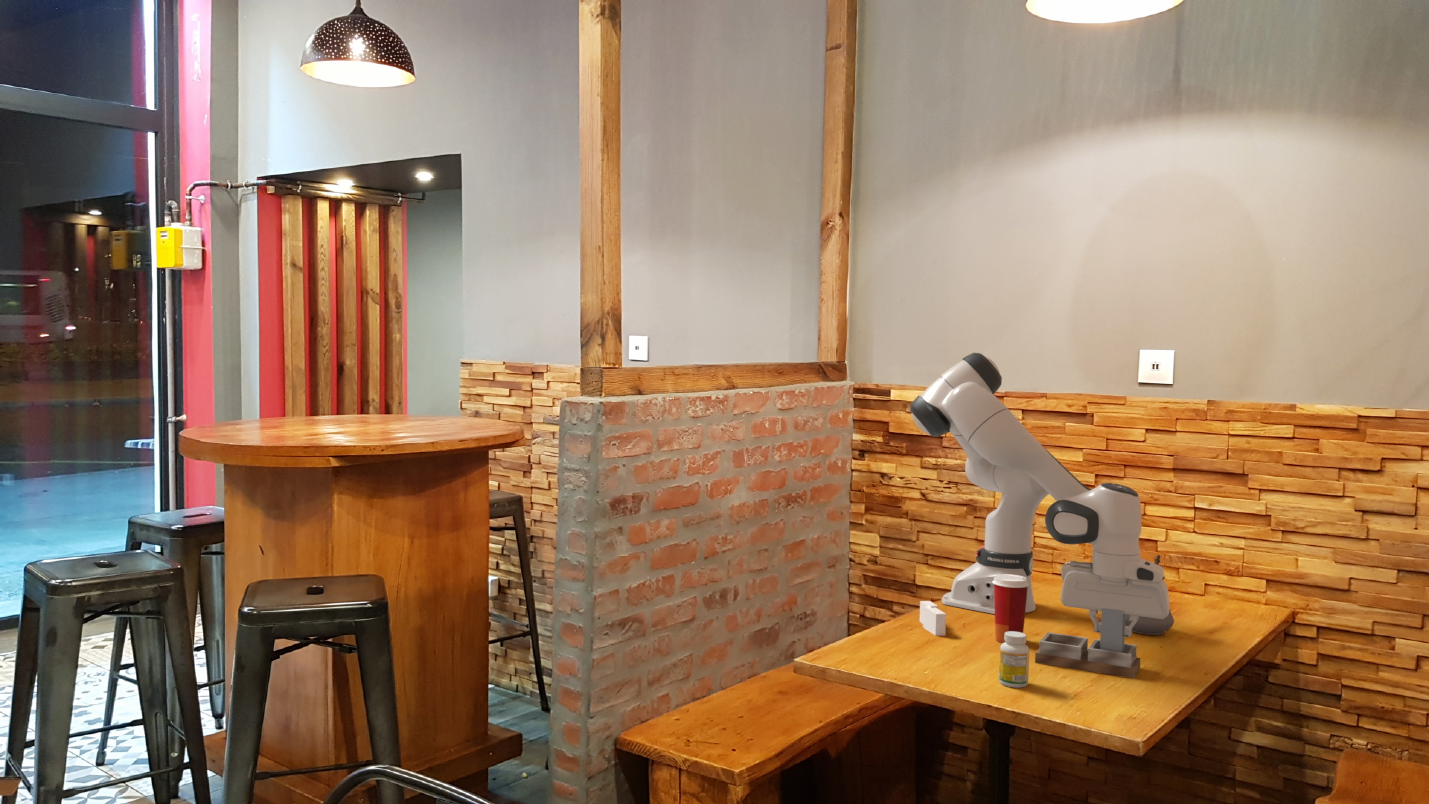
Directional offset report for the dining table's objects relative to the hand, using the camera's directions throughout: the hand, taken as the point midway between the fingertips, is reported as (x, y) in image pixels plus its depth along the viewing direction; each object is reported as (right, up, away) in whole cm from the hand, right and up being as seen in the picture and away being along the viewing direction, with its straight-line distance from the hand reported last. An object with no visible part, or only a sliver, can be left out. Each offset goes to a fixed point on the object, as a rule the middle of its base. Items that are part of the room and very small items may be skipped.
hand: (1112, 634), depth 210 cm
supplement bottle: (-23, -8, -10) cm, 26 cm away
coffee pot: (+22, -6, +34) cm, 41 cm away
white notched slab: (-30, -6, +29) cm, 42 cm away
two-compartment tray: (-4, -7, +3) cm, 8 cm away
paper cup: (-15, -6, +19) cm, 25 cm away
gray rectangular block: (0, -4, 0) cm, 4 cm away
